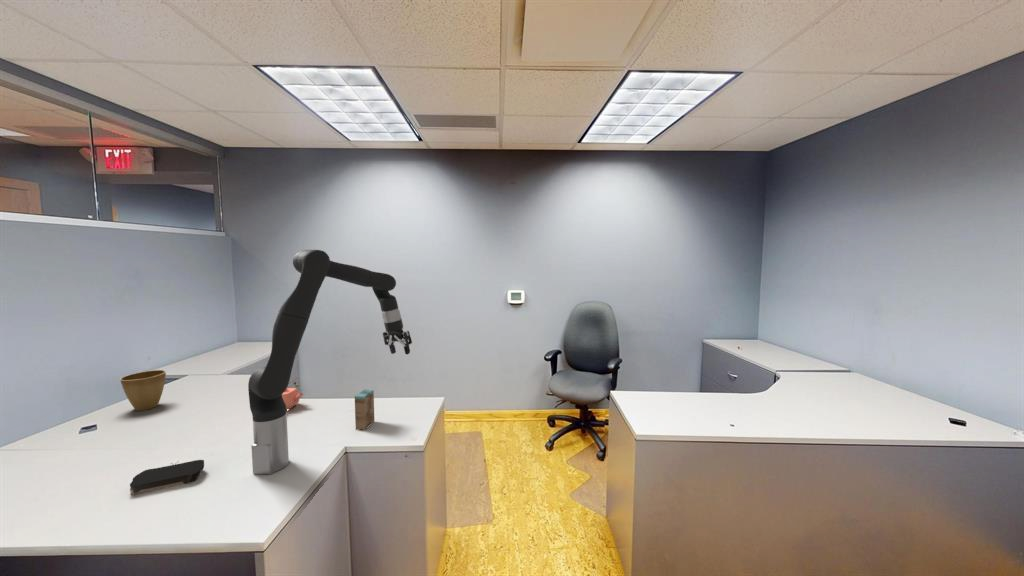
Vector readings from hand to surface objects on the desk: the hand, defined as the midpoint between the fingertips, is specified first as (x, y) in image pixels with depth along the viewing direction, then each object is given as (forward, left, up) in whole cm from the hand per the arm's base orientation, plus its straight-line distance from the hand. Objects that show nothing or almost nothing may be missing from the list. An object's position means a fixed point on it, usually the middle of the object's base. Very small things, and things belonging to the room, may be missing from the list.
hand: (400, 353), depth 155 cm
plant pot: (-3, +125, -28) cm, 128 cm away
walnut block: (-13, +11, -28) cm, 32 cm away
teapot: (+1, +57, -28) cm, 63 cm away
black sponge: (-54, +52, -28) cm, 81 cm away
